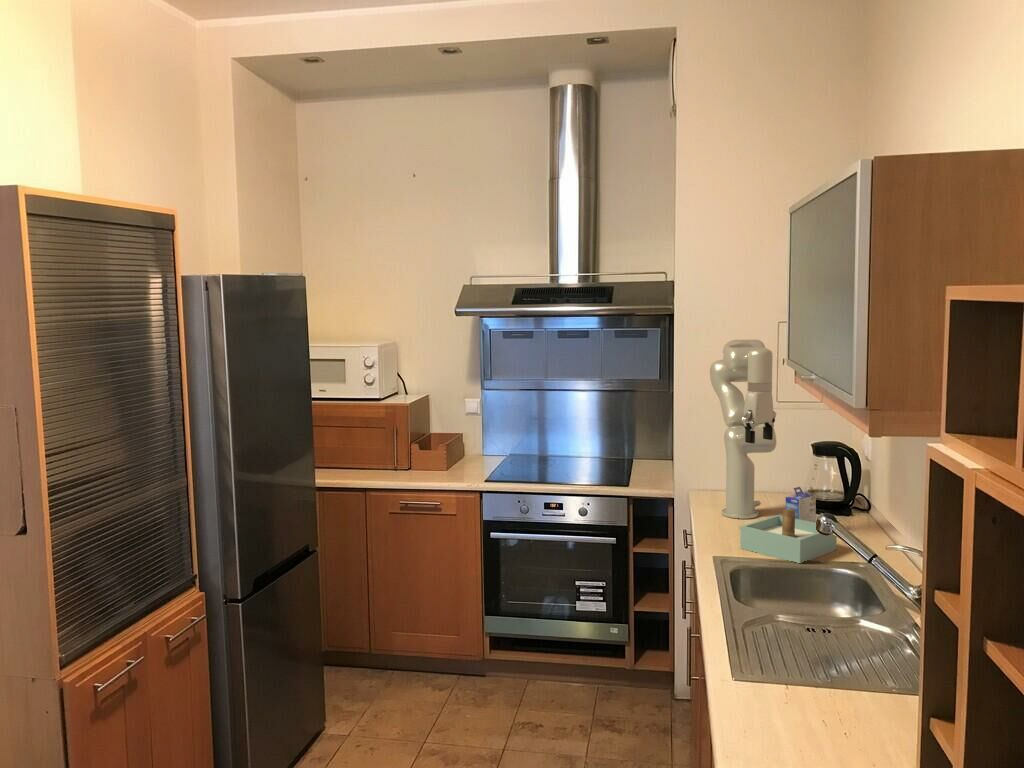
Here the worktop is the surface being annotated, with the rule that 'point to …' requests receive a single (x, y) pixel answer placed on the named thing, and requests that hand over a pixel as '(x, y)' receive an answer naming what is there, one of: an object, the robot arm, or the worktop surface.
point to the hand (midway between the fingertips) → (758, 441)
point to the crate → (786, 540)
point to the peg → (788, 522)
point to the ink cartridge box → (802, 505)
